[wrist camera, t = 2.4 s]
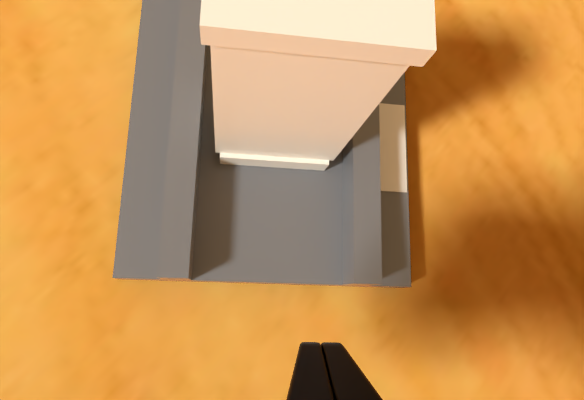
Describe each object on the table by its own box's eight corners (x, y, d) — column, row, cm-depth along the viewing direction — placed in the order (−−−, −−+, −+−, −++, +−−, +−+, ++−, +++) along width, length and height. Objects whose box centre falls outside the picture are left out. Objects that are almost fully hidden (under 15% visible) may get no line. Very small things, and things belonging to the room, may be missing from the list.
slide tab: (332, 171, 21) (436, 50, 11) (210, 163, 21) (199, 25, 10) (332, 114, 22) (432, -50, 12) (214, 105, 21) (207, -81, 11)
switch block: (401, 287, 22) (428, 286, 19) (118, 279, 20) (101, 275, 17) (393, -6, 25) (415, -46, 23) (151, -36, 24) (141, -83, 21)
